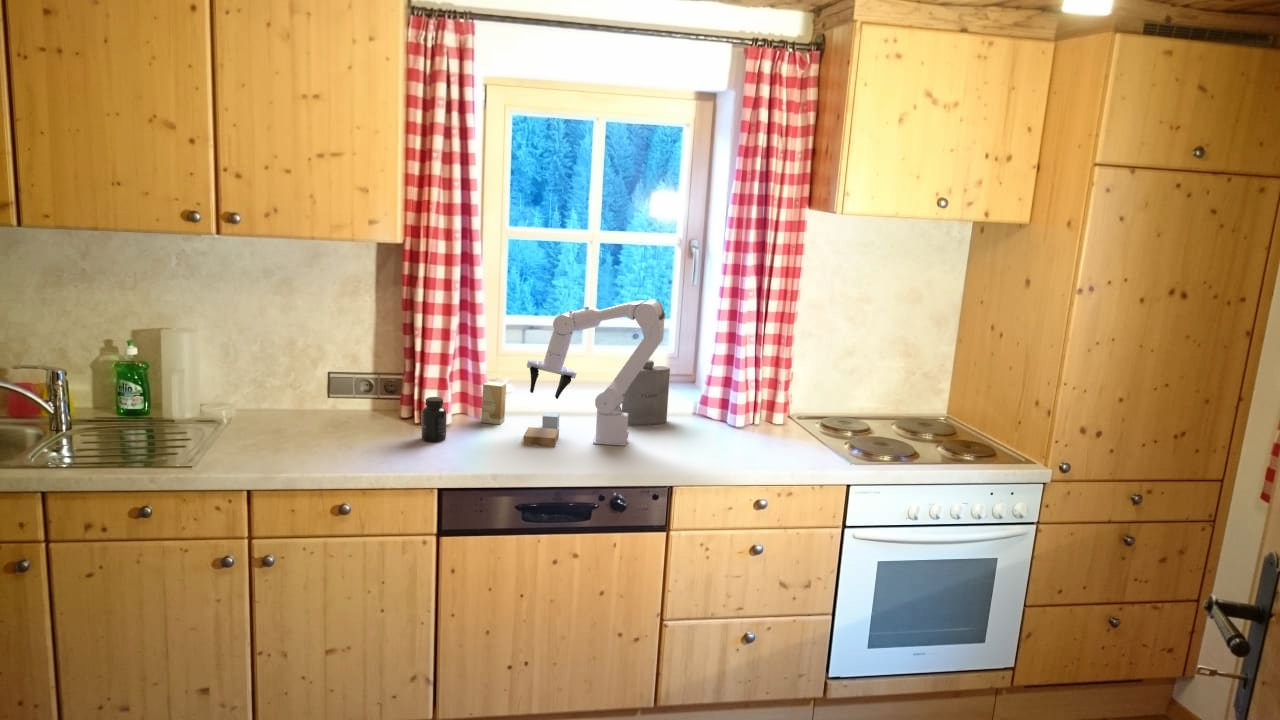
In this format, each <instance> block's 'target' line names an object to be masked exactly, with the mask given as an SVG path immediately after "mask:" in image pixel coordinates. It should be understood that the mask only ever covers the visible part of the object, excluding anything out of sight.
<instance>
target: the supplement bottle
mask: <svg viewBox="0 0 1280 720" xmlns="http://www.w3.org/2000/svg"><path fill="white" fill-rule="evenodd" d="M443 406H444V399H443V398H442V397H441V396H430V397H426V398H425V407H424V408H423V409H422V410H421V440H422V441H423V442H426V443H430V442H431V443H433V444H435V443H436V442H437V443H442V442H444V441H445V440H446V438H447V410H446V408H445V407H443ZM434 442H435V443H434Z"/></svg>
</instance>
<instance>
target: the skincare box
mask: <svg viewBox="0 0 1280 720" xmlns="http://www.w3.org/2000/svg"><path fill="white" fill-rule="evenodd" d="M487 381H488V380H487ZM506 396H507V383H506V382H498V381H490V380H489V381H488V383H485V382H484V383H483V384H482V397H481V398H482V399H481V400H482V401H481V402H482V403H481V420H480V421H481V423H484V424H485V423H486V424H492V425H493V424H494V425H501V424H503V423H504V422H505V418H506V417H505V415H506V414H505V413H506V398H507V397H506Z"/></svg>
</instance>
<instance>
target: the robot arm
mask: <svg viewBox="0 0 1280 720" xmlns="http://www.w3.org/2000/svg"><path fill="white" fill-rule="evenodd" d="M623 317H626V318H628V319H629V320H631V321H634V320H635V321H636V323H637V324H638V326H639V327H640V329H641V331H642V335H643V339H642V340H641V341H640V343H639V344H638V346H636V348H635V350H634V351H633V352H632V354H631V355H630V357H628V360H627V361H626V362H625V363H624V364H623V365H624V366H623V367H622V368H621V370H620V371H619V372H618V374H617V375H616V376H615V378H614V379H613V381H612V382H611V383H610V384H609V385H608V386H607V387H606V388H605V390H604V391H602V392H601V393H599V394H598V395H597V396H596V398H595V401H594V405H595V408H596V422H595V423H596V424H595V426H596V427H595V434H594V439H593V441H592V444H595V445H609V446H611V445H612V446H627V442H628V441H627V440H628V439H629V431H628V430H629V429H628V427H629V425H628V413H624V412H622V403H623V401H624V396H625V393H626V392H627V390H628V387H629V386H630V385H631V383H632V382H633V380H634V379H635V378H636V376H637V375H638V373H639V372H640V371H641V369H642V368H643V367H644V365H645V364H646V362H647V361H648V360H650V358H651V357H652V356H653V354H654V352H656V350H657V348H658V347H659V346H660V345H661V343H662V342H663V340H664V333H665V331H664V330H665V319H666V312H665V308H664V306H663V304H662V303H661V302H660V301H659V300H657V299H653V298H651V299H648V300H637V301H630V302H626V303H621V304H618V305H615V306H611V307H607V308H603V309H598V308H596V307H595V306H592V307H591V306H590V305H586V306H584V307H583V309H579V310H578V309H577V310H574V309H570V310H569V311H568V312H564V313H561V314H559V315H558V316H556V317H555V318H554V320H553V322H552V326H553V331H552V334H551V337H550V341H549V342H548V346H547V350H546V353H545V357H544V360H543V361H541V360H533V359H529V358H528V360H527V363H526V367H527V368H529V371H530V389H529V392H530V393H531V394H533V393H534V391H535V388H536V387H535V386H536V382H537V380H538V377H539V375H540V374H539V372H540V371H544V372H549V373H551V374H555V375H556V374H557V375H560V378H559V383H558V387H557V389H556V391H555V395H554V397H555V399H556V400H557V399H558V400H559V398H560V396H561V394H562V392H563V391H564V390H565V389H566V388H567V386H569V385H570V384H571V382H572V379H573V380H574V379H576V376H577V370H574V369H571V368H568V367H565V366H564V365H565V364H564V363H565V361H566V358H567V354H568V351H569V347H570V345H571V341H572V336H573V333H574V331H575V332H578V331H583V330H588V329H592V328H598V327H599V326H600V324H601V322H602V321H609V320H612V319H613V320H615V319H618V318H619V319H620V318H623ZM539 370H540V371H539Z"/></svg>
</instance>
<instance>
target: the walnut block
mask: <svg viewBox="0 0 1280 720" xmlns="http://www.w3.org/2000/svg"><path fill="white" fill-rule="evenodd" d="M559 433H560V429H559V428H558V429H550V428H542V427H533V426H531V427H529V426H528V427H527V429H526V430H525V433H524V434H523V444H524V445H523V444H522V445H523V446H534V445H538V446H540V447H550V446H553V448H555V447H556V445H557V443H558V440H559V438H560V436H559V435H560V434H559ZM556 442H557V443H556ZM538 446H537V447H538Z"/></svg>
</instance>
